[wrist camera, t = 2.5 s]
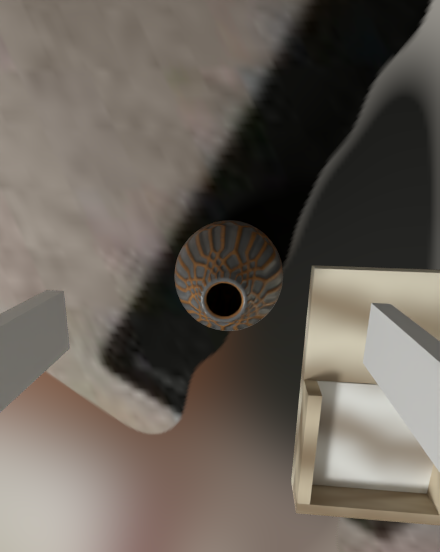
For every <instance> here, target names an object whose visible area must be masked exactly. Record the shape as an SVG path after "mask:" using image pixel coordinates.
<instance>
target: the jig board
mask: <svg viewBox="0 0 440 552" xmlns="http://www.w3.org/2000/svg"><path fill="white" fill-rule="evenodd" d="M371 303H385V304H391V305H393V306H394V307H395V308H397V309H398V310H399V311H401V312H402V313H403V314H404V315H406V316H407V317H408V318H410V319H411V320H412V321H414V322H415V323H416V324H418V325H419V326H420V327H421V328H423V329H424V330H425V331H427V332H428V333H429V334H431V335H432V336H433V337H435V338H436V339H437V340H439V341H440V270H430V269H401V268H373V267H346V266H318V265H312V269H311V280H310V290H309V301H308V311H307V322H306V332H305V343H304V353H303V364H302V375H301V386H300V396H299V406H298V417H297V427H296V438H295V449H294V459H293V469H292V480H291V482H292V489H293V495H294V502H295V508H296V513H301V514H313V515H324V516H336V517H348V518H359V519H371V520H383V521H394V522H406V523H418V524H430V525H440V472H439V471H438V469H437V468H436V467H435V465H434V464H433V462H432V461H431V459H430V458H429V457H428V455H427V454H426V452H425V451H424V449H423V448H422V447H421V445H420V444H419V442H418V441H417V440H416V438H415V437H414V435H413V434H412V432H411V431H410V430H409V428H408V427H407V425H406V424H405V422H404V421H403V420H402V418H401V417H400V415H399V414H398V412H397V411H396V410H395V408H394V407H393V405H392V404H391V402H390V401H389V400H388V398H387V397H386V395H385V394H384V392H383V391H382V390H381V388H380V387H379V385H378V384H377V382H376V381H375V380H374V378H373V377H372V375H371V374H370V373H369V371H368V370H367V368H366V367H365V365H364V364H363V358H364V351H365V344H366V337H367V330H368V323H369V316H370V309H371Z"/></svg>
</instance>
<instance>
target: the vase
mask: <svg viewBox="0 0 440 552" xmlns="http://www.w3.org/2000/svg"><path fill="white" fill-rule="evenodd" d="M282 282H283V268H282V263H281V259H280V256H279V253H278V251H277V249H276V247H275V246H274V244H273V243H272V241H271V240H270V239H269V238H268V237H267V236H266V235H265V234H264V233H263V232H262V231H260V230H259V229H257V228H256V227H254V226H252V225H250V224H247V223H244V222H240V221H233V220H226V221H219V222H214V223H211V224H209V225H207V226H205V227H203V228H201V229H200V230H198V231H197V232H195V233H194V234H193V235H192V236H191V237H190V238H189V239H188V240H187V242H186V243H185V244H184V246H183V247H182V249H181V251H180V253H179V255H178V258H177V262H176V266H175V285H176V290H177V293H178V296H179V298H180V301H181V302H182V304H183V306H184V307H185V309H186V310H187V312H188V313H189V314H190V315H191V316H192V317H193V318H195V319H196V320H197V321H199V322H200V323H202V324H204V325H205V326H208V327H210V328H213V329H217V330H223V331H232V330H240V329H244V328H247V327H249V326H251V325H253V324H255V323H257V322H258V321H260V320H261V319H262V318H264V317H265V316H266V315H267V314H268V313H269V311H270V310H271V309H272V308H273V306H274V304H275V303H276V301H277V299H278V297H279V294H280V291H281V288H282Z"/></svg>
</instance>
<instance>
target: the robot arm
mask: <svg viewBox="0 0 440 552" xmlns="http://www.w3.org/2000/svg"><path fill="white" fill-rule="evenodd" d="M69 349H70V347H69V337H68V327H67V317H66V308H65V298H64V291H54V290H46V291H44V292H42V293H40V294H38V295H36V296H35V297H33V298H31V299H29V300H27V301H25V302H23V303H21V304H19V305H17V306H15V307H13V308H11V309H9V310H7V311H5V312H3V313H1V314H0V412H1V411H2V410H3V409H4V408H5V407H6V406H8V405H9V404H10V403H11V402H12V401H13V400H14V399H15V398H16V397H17V396H19V395H20V394H21V393H22V392H23V391H24V390H25V389H26V388H27V387H28V386H29V385H31V384H32V383H33V382H34V381H35V380H36V379H37V378H38V377H39V376H40V375H41V374H42V373H44V372H45V371H46V370H47V369H48V368H49V367H50V366H51V365H52V364H53V363H54V362H56V361H57V360H58V359H59V358H60V357H61V356H62V355H63V354H64V353H65V352H66V351H68V350H69ZM363 364H364V365H365V367H366V368H367V370H368V371H369V373H370V374H371V375H372V377H373V378H374V380H375V381H376V382H377V384H378V385H379V387H380V388H381V390H382V391H383V392H384V394H385V395H386V397H387V398H388V400H389V401H390V402H391V404H392V405H393V407H394V408H395V410H396V411H397V412H398V414H399V415H400V417H401V418H402V420H403V421H404V422H405V424H406V425H407V427H408V428H409V430H410V431H411V432H412V434H413V435H414V437H415V438H416V440H417V441H418V442H419V444H420V445H421V447H422V448H423V449H424V451H425V452H426V454H427V455H428V457H429V458H430V459H431V461H432V462H433V464H434V465H435V467H436V468H437V469H438V471H439V472H440V341H439V340H437V339H436V338H435V337H433V336H432V335H431V334H429V333H428V332H427V331H425V330H424V329H423V328H421V327H420V326H419V325H418V324H416V323H415V322H414V321H412V320H411V319H410V318H408V317H407V316H406V315H404V314H403V313H402V312H401V311H399V310H398V309H397V308H395V307H394V306H393V305H391V304H385V303H371V309H370V316H369V323H368V330H367V337H366V344H365V351H364V358H363Z"/></svg>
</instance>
